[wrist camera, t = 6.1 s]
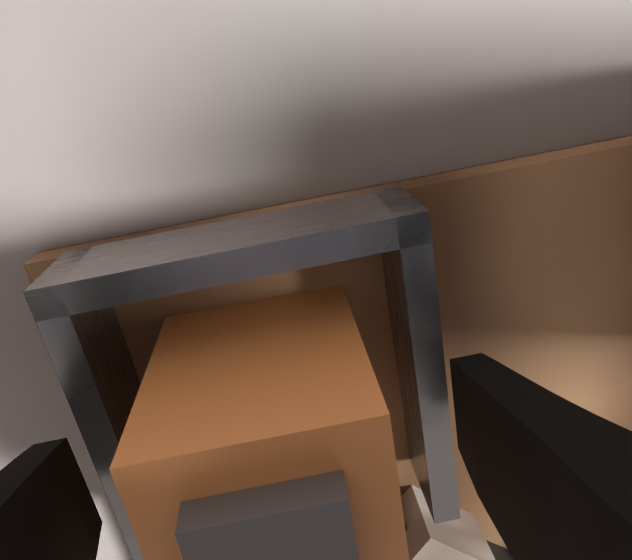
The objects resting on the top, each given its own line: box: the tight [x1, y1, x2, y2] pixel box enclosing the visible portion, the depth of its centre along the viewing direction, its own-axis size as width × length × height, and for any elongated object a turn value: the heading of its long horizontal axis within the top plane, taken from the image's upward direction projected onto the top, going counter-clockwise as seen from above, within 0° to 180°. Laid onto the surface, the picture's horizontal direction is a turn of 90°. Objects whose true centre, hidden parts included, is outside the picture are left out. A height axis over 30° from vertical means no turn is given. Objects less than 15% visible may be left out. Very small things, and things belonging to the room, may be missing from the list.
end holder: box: [23, 186, 461, 560], centre depth 12 cm, size 7×7×2 cm
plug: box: [109, 284, 410, 560], centre depth 11 cm, size 4×4×6 cm
